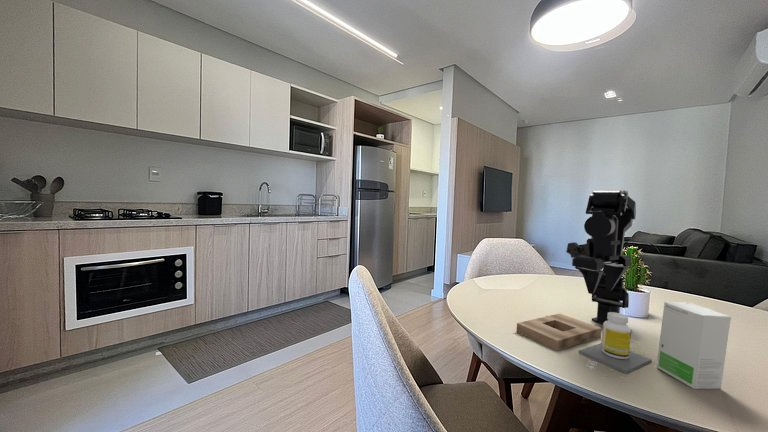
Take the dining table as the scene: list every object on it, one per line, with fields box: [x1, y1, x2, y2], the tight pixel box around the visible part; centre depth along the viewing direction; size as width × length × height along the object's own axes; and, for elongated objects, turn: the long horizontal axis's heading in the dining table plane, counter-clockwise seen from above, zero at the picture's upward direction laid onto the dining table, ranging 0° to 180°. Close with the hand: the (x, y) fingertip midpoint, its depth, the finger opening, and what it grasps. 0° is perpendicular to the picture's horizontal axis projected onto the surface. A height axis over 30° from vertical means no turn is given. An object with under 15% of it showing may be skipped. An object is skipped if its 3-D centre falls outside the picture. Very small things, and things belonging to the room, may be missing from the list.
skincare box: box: [656, 301, 732, 390], centre depth 65 cm, size 8×7×16 cm
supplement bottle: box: [601, 312, 632, 359], centre depth 74 cm, size 5×5×10 cm
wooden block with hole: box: [516, 313, 602, 351], centre depth 86 cm, size 20×12×2 cm, turn 118°
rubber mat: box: [578, 342, 653, 374], centre depth 74 cm, size 12×10×1 cm
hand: (600, 291), depth 84 cm, fingers open, 9 cm apart
